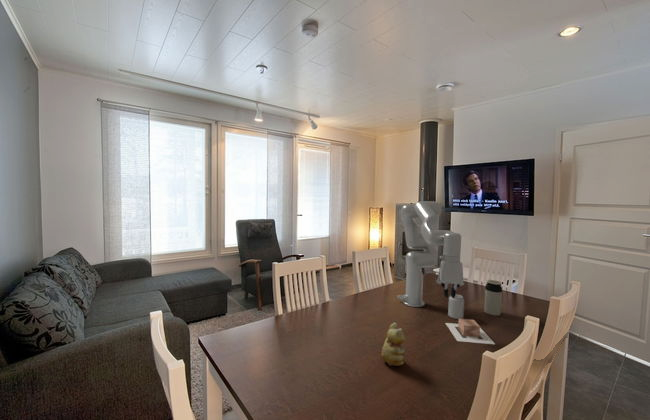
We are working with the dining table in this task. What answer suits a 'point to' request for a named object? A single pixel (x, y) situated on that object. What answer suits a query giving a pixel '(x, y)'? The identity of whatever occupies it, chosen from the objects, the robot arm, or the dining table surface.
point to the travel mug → (493, 297)
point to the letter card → (459, 337)
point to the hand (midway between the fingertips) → (449, 296)
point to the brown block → (468, 327)
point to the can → (456, 307)
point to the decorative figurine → (393, 346)
